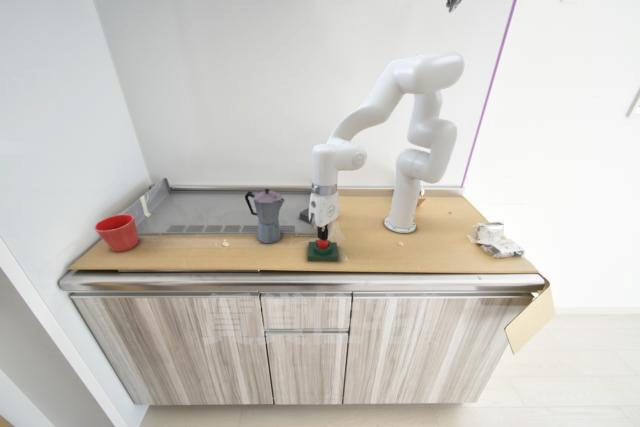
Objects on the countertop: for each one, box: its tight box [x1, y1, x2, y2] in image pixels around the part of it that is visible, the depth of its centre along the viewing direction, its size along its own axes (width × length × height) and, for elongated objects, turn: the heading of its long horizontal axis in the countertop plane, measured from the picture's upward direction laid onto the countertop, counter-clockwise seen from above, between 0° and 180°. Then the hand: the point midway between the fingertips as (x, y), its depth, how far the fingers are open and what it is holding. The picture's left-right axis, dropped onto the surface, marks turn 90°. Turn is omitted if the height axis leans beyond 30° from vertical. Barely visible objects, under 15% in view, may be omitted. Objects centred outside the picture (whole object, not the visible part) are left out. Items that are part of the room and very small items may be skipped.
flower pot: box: [94, 213, 139, 252], centre depth 83 cm, size 11×11×10 cm
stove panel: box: [299, 207, 311, 225], centre depth 105 cm, size 12×10×3 cm
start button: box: [317, 238, 329, 248], centre depth 81 cm, size 4×4×2 cm
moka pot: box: [244, 188, 286, 244], centre depth 87 cm, size 10×15×20 cm, turn 78°
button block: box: [307, 239, 339, 263], centre depth 82 cm, size 10×8×4 cm
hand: (322, 238), depth 80 cm, fingers closed
